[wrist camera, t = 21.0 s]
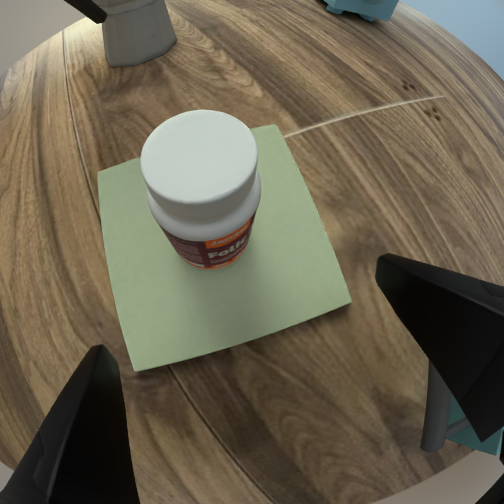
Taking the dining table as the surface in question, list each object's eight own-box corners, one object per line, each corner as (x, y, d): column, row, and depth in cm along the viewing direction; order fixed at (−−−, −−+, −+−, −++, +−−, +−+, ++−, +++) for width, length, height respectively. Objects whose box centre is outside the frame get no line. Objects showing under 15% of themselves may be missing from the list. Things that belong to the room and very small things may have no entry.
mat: (348, 302, 17) (352, 301, 16) (137, 370, 14) (134, 372, 14) (275, 128, 20) (276, 123, 19) (99, 176, 17) (96, 172, 17)
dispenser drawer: (382, 457, 13) (440, 495, 6) (388, 314, 16) (465, 303, 9) (514, 386, 15) (559, 386, 8) (515, 290, 17) (562, 276, 11)
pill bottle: (222, 287, 16) (216, 246, 8) (157, 244, 16) (102, 173, 8) (264, 222, 17) (294, 136, 9) (201, 185, 17) (187, 88, 9)
